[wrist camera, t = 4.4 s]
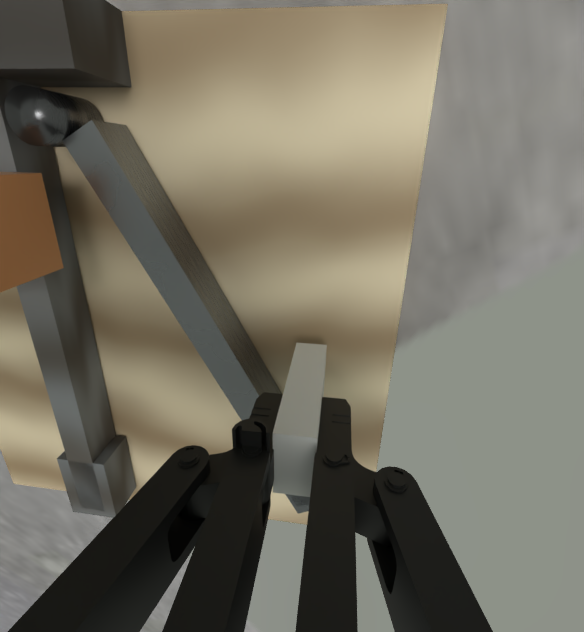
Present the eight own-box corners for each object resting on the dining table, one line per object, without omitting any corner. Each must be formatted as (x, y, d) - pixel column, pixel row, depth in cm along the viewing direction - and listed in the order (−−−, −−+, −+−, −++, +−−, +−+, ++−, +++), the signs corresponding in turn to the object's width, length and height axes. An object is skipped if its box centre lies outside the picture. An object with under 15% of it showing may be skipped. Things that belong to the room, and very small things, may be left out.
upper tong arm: (53, 112, 16) (-6, 103, 14) (119, 61, 15) (70, 40, 12) (288, 483, 23) (280, 526, 21) (346, 468, 22) (346, 511, 19)
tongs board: (-125, 29, 17) (-297, -19, 13) (438, 18, 14) (482, -49, 10) (29, 468, 29) (-32, 528, 24) (365, 513, 26) (370, 591, 21)
